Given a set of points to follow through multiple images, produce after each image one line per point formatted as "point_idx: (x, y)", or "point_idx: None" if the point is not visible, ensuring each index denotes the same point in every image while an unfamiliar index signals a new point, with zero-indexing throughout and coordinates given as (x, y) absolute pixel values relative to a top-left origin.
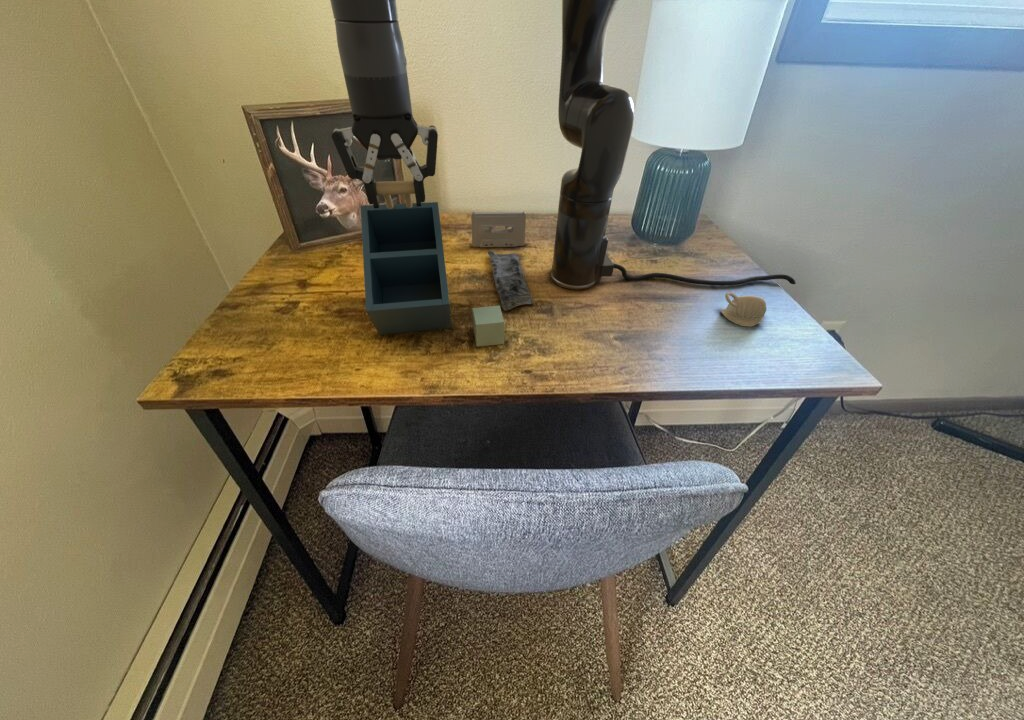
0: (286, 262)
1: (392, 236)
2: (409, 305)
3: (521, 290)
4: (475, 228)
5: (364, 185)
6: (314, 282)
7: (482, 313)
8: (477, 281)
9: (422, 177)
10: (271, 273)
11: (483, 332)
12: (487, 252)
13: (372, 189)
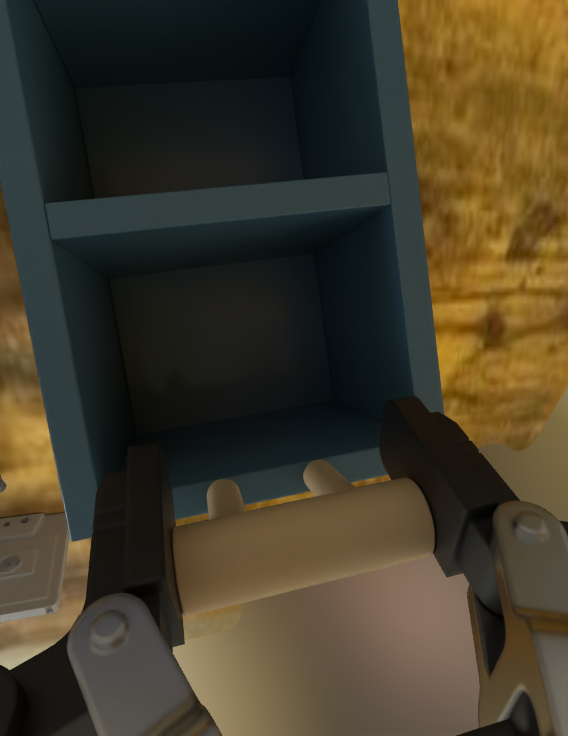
0: (517, 409)
1: (293, 415)
2: None
3: None
4: (49, 562)
5: (514, 494)
6: (468, 339)
7: None
8: (14, 356)
9: (73, 634)
10: (550, 369)
11: None
12: (5, 485)
13: (459, 474)
